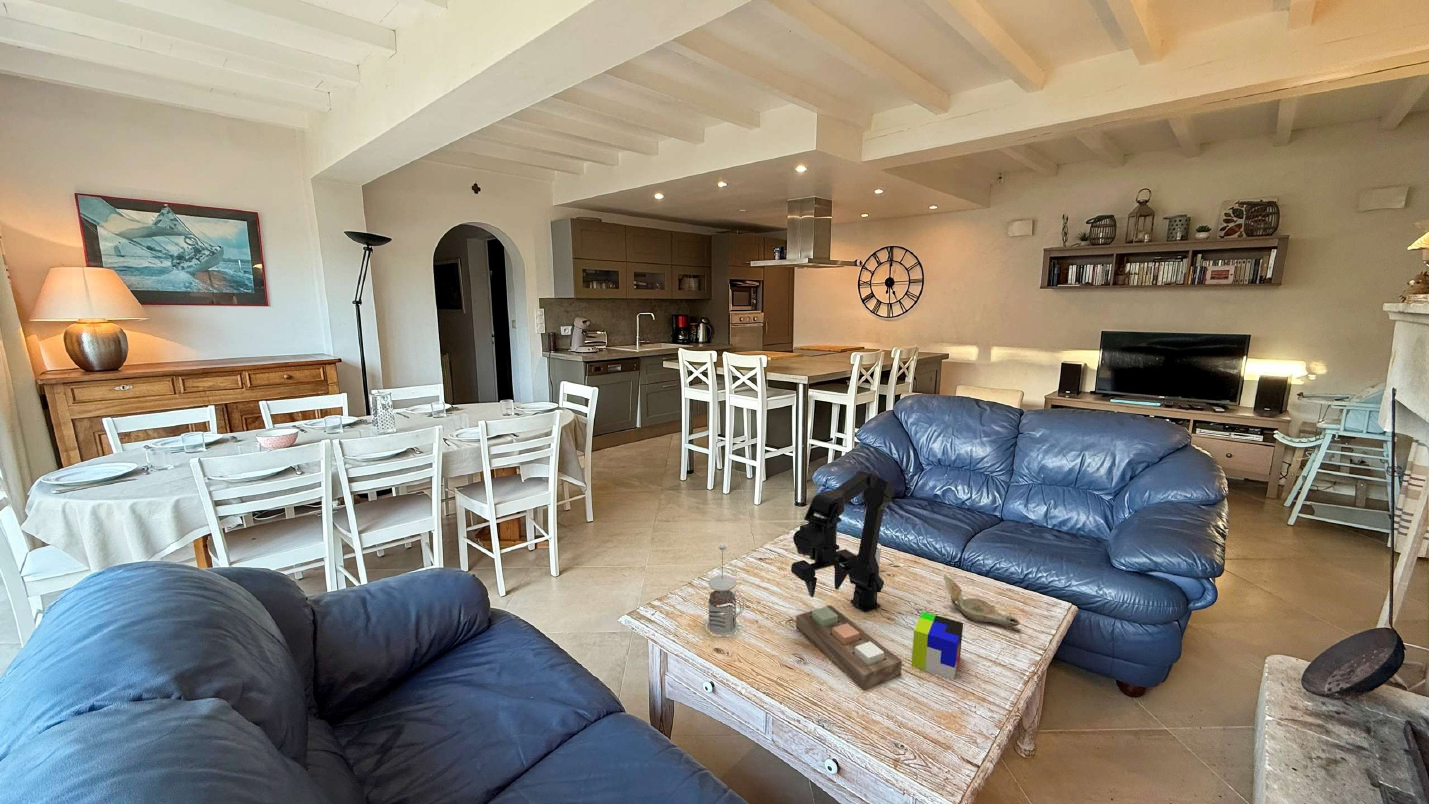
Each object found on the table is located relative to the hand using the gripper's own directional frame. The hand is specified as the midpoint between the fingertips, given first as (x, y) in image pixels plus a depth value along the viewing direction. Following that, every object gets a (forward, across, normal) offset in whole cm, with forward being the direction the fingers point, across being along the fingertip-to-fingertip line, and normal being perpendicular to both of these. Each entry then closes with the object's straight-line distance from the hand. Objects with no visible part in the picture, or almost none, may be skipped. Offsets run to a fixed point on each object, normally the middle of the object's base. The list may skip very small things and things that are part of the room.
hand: (824, 592), depth 153 cm
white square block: (+9, 0, +18) cm, 21 cm away
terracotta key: (+9, 0, +9) cm, 13 cm away
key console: (+12, 0, +10) cm, 15 cm away
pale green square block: (+9, 0, 0) cm, 9 cm away
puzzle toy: (+12, -18, +24) cm, 32 cm away
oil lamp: (+13, -45, +14) cm, 49 cm away
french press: (+12, +24, -14) cm, 30 cm away
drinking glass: (+13, -35, -21) cm, 43 cm away
